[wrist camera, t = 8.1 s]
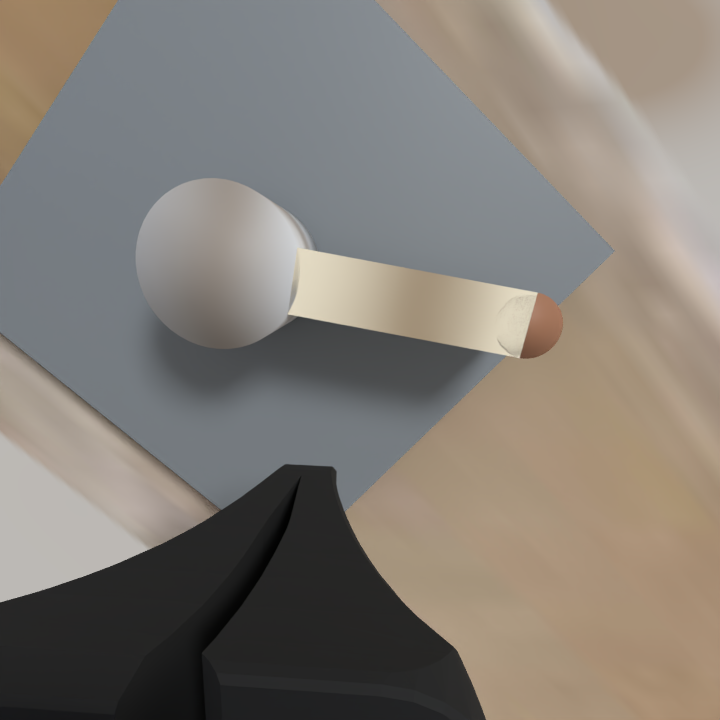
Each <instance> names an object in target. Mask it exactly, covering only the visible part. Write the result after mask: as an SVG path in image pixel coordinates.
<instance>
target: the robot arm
mask: <svg viewBox="0 0 720 720" xmlns="http://www.w3.org/2000/svg"><path fill="white" fill-rule="evenodd" d="M336 481H337V471H336V470H335V469H334V467H333V466H314V465H294V464H285V465H283V466H281V467H280V468H279V469H277V470H276V471H275V472H274V473H272V474H271V475H270V476H268V477H267V478H266V479H264V480H263V481H262V482H261V483H259V484H258V485H257V486H255V487H254V488H253V489H251V490H250V491H248V492H247V493H246V494H244V495H243V496H242V497H240V498H239V499H237V500H236V501H234V502H233V503H231V504H230V505H228V506H227V507H225V508H224V509H222V510H221V511H219V512H218V513H216V514H215V515H213V516H212V517H210V518H209V519H207V520H205V521H204V522H202V523H200V524H199V525H197V526H195V527H193V528H192V529H190V530H188V531H186V532H184V533H182V534H180V535H178V536H177V537H175V538H173V539H171V540H169V541H167V542H165V543H163V544H161V545H159V546H156V547H154V548H152V549H150V550H147V551H145V552H143V553H140V554H138V555H136V556H134V557H132V558H129V559H127V560H125V561H122V562H120V563H118V564H115V565H113V566H110V567H108V568H105V569H102V570H100V571H97V572H94V573H92V574H89V575H87V576H84V577H81V578H78V579H75V580H72V581H69V582H66V583H63V584H60V585H58V586H55V587H52V588H49V589H45V590H42V591H39V592H36V593H32V594H29V595H25V596H22V597H18V598H15V599H11V600H7V601H4V602H0V720H486V719H485V716H484V713H483V710H482V708H481V705H480V702H479V700H478V697H477V695H476V692H475V690H474V687H473V685H472V682H471V680H470V678H469V676H468V673H467V671H466V669H465V667H464V665H463V662H462V660H461V658H460V656H459V654H458V652H457V650H456V649H455V648H454V647H453V646H452V645H450V644H449V643H448V642H447V641H446V640H445V639H443V638H442V637H441V636H440V635H439V634H437V633H436V632H435V631H434V630H433V629H432V628H430V627H429V626H428V625H427V624H426V623H424V622H423V621H422V620H421V619H420V618H418V617H417V616H416V615H415V614H414V613H413V612H412V611H411V610H410V609H409V608H408V607H407V606H406V605H405V604H404V603H403V602H402V601H401V599H400V598H399V597H398V596H397V595H396V593H395V592H394V591H393V590H392V588H391V587H390V586H389V585H388V584H387V582H386V581H385V580H384V579H383V578H382V576H381V575H380V574H379V573H378V571H377V570H376V568H375V567H374V565H373V564H372V563H371V561H370V560H369V558H368V557H367V555H366V553H365V552H364V550H363V548H362V547H361V545H360V543H359V542H358V540H357V538H356V536H355V534H354V532H353V530H352V528H351V526H350V524H349V521H348V519H347V517H346V514H345V512H344V509H343V506H342V503H341V500H340V497H339V494H338V490H337V485H336Z"/></svg>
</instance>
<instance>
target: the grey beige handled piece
mask: <svg viewBox="0 0 720 720" xmlns="http://www.w3.org/2000/svg"><path fill="white" fill-rule="evenodd" d="M136 269H137V276H138V279H139V283H140V286H141V289H142V292H143V294H144V296H145V298H146V300H147V302H148V304H149V306H150V307H151V309H152V310H153V311H154V313H155V314H156V316H157V317H158V318H159V319H160V320H161V321H162V322H163V323H164V324H165V325H166V326H167V327H168V328H169V329H170V330H172V331H173V332H175V333H176V334H177V335H179V336H180V337H182V338H184V339H186V340H188V341H190V342H192V343H195V344H197V345H200V346H204V347H208V348H216V349H232V348H240V347H243V346H247V345H250V344H252V343H255V342H257V341H259V340H261V339H262V338H264V337H266V336H267V335H269V334H271V333H273V332H274V331H276V330H278V329H279V328H281V327H283V326H284V325H286V324H288V323H289V322H291V321H293V320H294V319H296V318H297V317H298V316H300V317H305V318H310V319H315V320H321V321H326V322H331V323H337V324H342V325H347V326H353V327H358V328H363V329H369V330H374V331H379V332H384V333H390V334H395V335H400V336H406V337H411V338H416V339H422V340H427V341H432V342H438V343H443V344H448V345H454V346H459V347H464V348H469V349H475V350H480V351H485V352H491V353H496V354H501V355H507V356H512V357H517V358H534V357H538V356H540V355H542V354H544V353H546V352H547V351H549V350H550V349H551V348H552V347H553V346H554V345H555V344H556V342H557V341H558V339H559V337H560V335H561V332H562V327H563V318H562V314H561V311H560V309H559V307H558V305H557V304H556V303H555V302H554V301H553V300H552V299H551V298H550V297H548V296H546V295H544V294H541V293H537V292H532V291H526V290H521V289H516V288H510V287H505V286H500V285H494V284H489V283H484V282H478V281H473V280H468V279H462V278H457V277H452V276H446V275H441V274H436V273H430V272H425V271H420V270H414V269H409V268H404V267H398V266H393V265H388V264H382V263H377V262H372V261H366V260H361V259H356V258H350V257H345V256H340V255H334V254H329V253H324V252H318V250H317V246H316V244H315V242H314V239H313V238H312V236H311V234H310V232H309V231H308V230H307V228H306V227H305V226H304V224H303V223H302V222H301V221H300V220H299V219H298V218H296V217H295V216H294V215H292V214H291V213H290V212H288V211H286V210H285V209H283V208H282V207H280V206H279V205H277V204H275V203H274V202H272V201H271V200H269V199H267V198H266V197H264V196H263V195H261V194H260V193H258V192H256V191H254V190H253V189H251V188H249V187H247V186H245V185H242V184H240V183H238V182H234V181H230V180H226V179H218V178H203V179H198V180H192V181H189V182H186V183H183V184H181V185H179V186H177V187H175V188H173V189H171V190H170V191H169V192H167V193H166V194H164V195H163V196H162V197H161V198H160V199H159V200H158V201H157V202H156V203H155V204H154V205H153V207H152V208H151V209H150V211H149V212H148V214H147V216H146V217H145V219H144V221H143V224H142V226H141V228H140V231H139V235H138V239H137V245H136Z"/></svg>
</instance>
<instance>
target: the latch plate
mask: <svg viewBox="0 0 720 720" xmlns="http://www.w3.org/2000/svg"><path fill="white" fill-rule="evenodd" d="M203 178H218V179H226V180H230V181H234V182H238V183H240V184H242V185H245V186H247V187H249V188H251V189H253V190H254V191H256V192H258V193H260V194H261V195H263V196H264V197H266V198H267V199H269V200H271V201H272V202H274V203H275V204H277V205H279V206H280V207H282V208H283V209H285V210H286V211H288V212H290V213H291V214H292V215H294V216H295V217H296V218H298V219H299V220H300V221H301V222H302V223H303V224H304V226H305V227H306V228H307V230H308V231H309V232H310V234H311V236H312V238H313V239H314V242H315V244H316V246H317V250H318V252H324V253H329V254H334V255H340V256H345V257H350V258H356V259H361V260H366V261H372V262H377V263H382V264H388V265H393V266H398V267H404V268H409V269H414V270H420V271H425V272H430V273H436V274H441V275H446V276H452V277H457V278H462V279H468V280H473V281H478V282H484V283H489V284H494V285H500V286H505V287H510V288H516V289H521V290H526V291H532V292H537V293H541V294H544V295H546V296H548V297H550V298H551V299H552V300H553V301H554V302H555V303H556V304H557V305H559V304H560V303H561V302H563V301H564V300H565V299H566V298H567V297H568V296H569V295H570V294H571V293H572V292H573V291H574V290H575V289H576V288H577V287H578V286H579V285H580V284H581V283H582V282H583V281H584V280H585V279H586V278H587V277H588V276H589V275H590V274H592V273H593V272H594V271H595V270H596V269H597V268H598V267H599V266H600V265H601V264H602V263H603V262H604V261H605V260H606V259H607V258H608V257H609V256H610V255H611V254H612V253H613V252H614V250H613V249H612V247H611V246H610V245H609V244H608V243H607V242H606V241H605V240H604V239H603V238H602V237H601V236H600V235H599V234H598V233H597V232H596V231H595V230H594V229H593V228H592V227H591V226H590V225H589V223H588V222H587V221H586V220H585V219H584V218H583V217H582V216H581V215H580V214H579V213H578V212H577V211H576V210H575V209H574V208H573V207H572V206H571V205H570V204H569V203H568V202H567V201H566V199H565V198H564V197H563V196H562V195H561V194H560V193H559V192H558V191H557V190H556V189H555V188H554V187H553V186H552V185H551V184H550V183H549V182H548V181H547V180H546V179H545V178H544V177H543V175H542V174H541V173H540V172H539V171H538V170H537V169H536V168H535V167H534V166H533V165H532V164H531V163H530V162H529V161H528V160H527V159H526V158H525V157H524V156H523V155H522V154H521V153H520V151H519V150H518V149H517V148H516V147H515V146H514V145H513V144H512V143H511V142H510V141H509V140H508V139H507V138H506V137H505V136H504V135H503V134H502V133H501V132H500V131H499V130H498V129H497V127H496V126H495V125H494V124H493V123H492V122H491V121H490V120H489V119H488V118H487V117H486V116H485V115H484V114H483V113H482V112H481V111H480V110H479V109H478V108H477V107H476V106H475V105H474V103H473V102H472V101H471V100H470V99H469V98H468V97H467V96H466V95H465V94H464V93H463V92H462V91H461V90H460V89H459V88H458V87H457V86H456V85H455V84H454V83H453V82H452V81H451V79H450V78H449V77H448V76H447V75H446V74H445V73H444V72H443V71H442V70H441V69H440V68H439V67H438V66H437V65H436V64H435V63H434V62H433V61H432V60H431V59H430V58H429V57H428V55H427V54H426V53H425V52H424V51H423V50H422V49H421V48H420V47H419V46H418V45H417V44H416V43H415V42H414V41H413V40H412V39H411V38H410V37H409V36H408V35H407V34H406V33H405V31H404V30H403V29H402V28H401V27H400V26H399V25H398V24H397V23H396V22H395V21H394V20H393V19H392V18H391V17H390V16H389V15H388V14H387V13H386V12H385V11H384V10H383V9H382V7H381V6H380V5H379V4H378V3H377V2H376V1H375V0H118V1H117V3H116V5H115V6H114V8H113V9H112V11H111V12H110V14H109V16H108V17H107V19H106V20H105V22H104V23H103V25H102V27H101V28H100V30H99V31H98V33H97V34H96V36H95V38H94V39H93V41H92V42H91V44H90V45H89V47H88V49H87V50H86V52H85V53H84V55H83V57H82V58H81V60H80V61H79V63H78V64H77V66H76V68H75V69H74V71H73V72H72V74H71V75H70V77H69V79H68V80H67V82H66V83H65V85H64V86H63V88H62V90H61V91H60V93H59V94H58V96H57V97H56V99H55V101H54V102H53V104H52V105H51V107H50V109H49V110H48V112H47V113H46V115H45V116H44V118H43V120H42V121H41V123H40V124H39V126H38V127H37V129H36V131H35V132H34V134H33V135H32V137H31V138H30V140H29V142H28V143H27V145H26V146H25V148H24V149H23V151H22V153H21V154H20V156H19V157H18V159H17V161H16V162H15V164H14V165H13V167H12V168H11V170H10V172H9V173H8V175H7V176H6V178H5V179H4V181H3V183H2V184H1V186H0V333H1V334H3V335H4V336H5V337H6V338H8V339H9V340H10V341H11V342H13V343H14V344H15V345H16V346H18V347H19V348H20V349H21V350H22V351H24V352H25V353H26V354H27V355H29V356H30V357H31V358H32V359H34V360H35V361H36V362H37V363H39V364H40V365H41V366H42V367H44V368H45V369H46V370H47V371H49V372H50V373H51V374H52V375H54V376H55V377H56V378H57V379H59V380H60V381H61V382H62V383H64V384H65V385H66V386H67V387H69V388H70V389H71V390H72V391H74V392H75V393H76V394H77V395H79V396H80V397H81V398H82V399H84V400H85V401H86V402H87V403H89V404H90V405H91V406H92V407H93V408H95V409H96V410H97V411H98V412H100V413H101V414H102V415H103V416H105V417H106V418H107V419H108V420H110V421H111V422H112V423H113V424H115V425H116V426H117V427H118V428H120V429H121V430H122V431H123V432H125V433H126V434H127V435H128V436H130V437H131V438H132V439H133V440H135V441H136V442H137V443H138V444H140V445H141V446H142V447H143V448H145V449H146V450H147V451H148V452H150V453H151V454H152V455H153V456H155V457H156V458H157V459H158V460H160V461H161V462H162V463H163V464H165V465H166V466H167V467H168V468H169V469H171V470H172V471H173V472H174V473H176V474H177V475H178V476H179V477H181V478H182V479H183V480H184V481H186V482H187V483H188V484H189V485H191V486H192V487H193V488H194V489H196V490H197V491H198V492H199V493H201V494H202V495H203V496H204V497H206V498H207V499H208V500H209V501H211V502H212V503H213V504H214V505H216V506H217V507H218V508H219V509H221V510H222V509H224V508H225V507H227V506H228V505H230V504H231V503H233V502H234V501H236V500H237V499H239V498H240V497H242V496H243V495H244V494H246V493H247V492H248V491H250V490H251V489H253V488H254V487H255V486H257V485H258V484H259V483H261V482H262V481H263V480H264V479H266V478H267V477H268V476H270V475H271V474H272V473H274V472H275V471H276V470H277V469H279V468H280V467H281V466H283V465H285V464H294V465H314V466H333V467H334V469H335V470H336V471H337V481H336V485H337V490H338V494H339V497H340V500H341V503H342V506H343V509H344V512H345V511H346V510H347V509H348V508H349V507H350V506H351V505H352V504H353V503H354V502H355V501H356V500H357V499H358V498H359V497H361V496H362V495H363V494H364V493H365V492H366V491H367V490H368V489H369V488H370V487H371V486H372V485H373V484H374V483H375V482H376V481H377V480H378V479H379V478H380V477H381V476H382V475H383V474H384V473H385V472H386V471H387V470H388V469H390V468H391V467H392V466H393V465H394V464H395V463H396V462H397V461H398V460H399V459H400V458H401V457H402V456H403V455H404V454H405V453H406V452H407V451H408V450H409V449H410V448H411V447H412V446H413V445H414V444H415V443H416V442H417V441H419V440H420V439H421V438H422V437H423V436H424V435H425V434H426V433H427V432H428V431H429V430H430V429H431V428H432V427H433V426H434V425H435V424H436V423H437V422H438V421H439V420H440V419H441V418H442V417H443V416H444V415H445V414H446V413H448V412H449V411H450V410H451V409H452V408H453V407H454V406H455V405H456V404H457V403H458V402H459V401H460V400H461V399H462V398H463V397H464V396H465V395H466V394H467V393H468V392H469V391H470V390H471V389H472V388H473V387H474V386H476V385H477V384H478V383H479V382H480V381H481V380H482V379H483V378H484V377H485V376H486V375H487V374H488V373H489V372H490V371H491V370H492V369H493V368H494V367H495V366H496V365H497V364H498V363H499V362H500V361H501V360H502V359H503V358H505V357H506V356H507V355H501V354H496V353H491V352H485V351H480V350H475V349H469V348H464V347H459V346H454V345H448V344H443V343H438V342H432V341H427V340H422V339H416V338H411V337H406V336H400V335H395V334H390V333H384V332H379V331H374V330H369V329H363V328H358V327H353V326H347V325H342V324H337V323H331V322H326V321H321V320H315V319H310V318H305V317H300V316H298V317H297V318H296V319H294V320H293V321H291V322H289V323H288V324H286V325H284V326H283V327H281V328H279V329H278V330H276V331H274V332H273V333H271V334H269V335H267V336H266V337H264V338H262V339H261V340H259V341H257V342H255V343H252V344H250V345H247V346H243V347H240V348H232V349H216V348H208V347H204V346H200V345H197V344H195V343H192V342H190V341H188V340H186V339H184V338H182V337H180V336H179V335H177V334H176V333H175V332H173V331H172V330H170V329H169V328H168V327H167V326H166V325H165V324H164V323H163V322H162V321H161V320H160V319H159V318H158V317H157V316H156V314H155V313H154V311H153V310H152V309H151V307H150V306H149V304H148V302H147V300H146V298H145V296H144V294H143V292H142V289H141V286H140V283H139V279H138V276H137V269H136V245H137V239H138V235H139V231H140V228H141V226H142V224H143V221H144V219H145V217H146V216H147V214H148V212H149V211H150V209H151V208H152V207H153V205H154V204H155V203H156V202H157V201H158V200H159V199H160V198H161V197H162V196H163V195H164V194H166V193H167V192H169V191H170V190H171V189H173V188H175V187H177V186H179V185H181V184H183V183H186V182H189V181H192V180H198V179H203Z"/></svg>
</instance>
